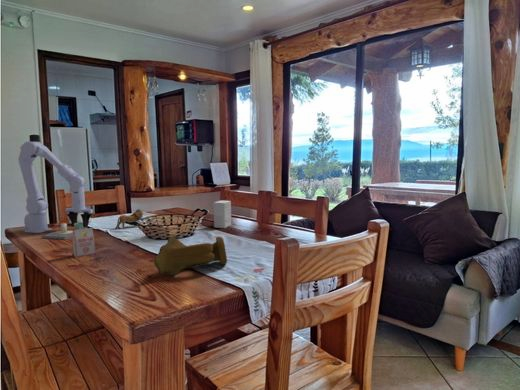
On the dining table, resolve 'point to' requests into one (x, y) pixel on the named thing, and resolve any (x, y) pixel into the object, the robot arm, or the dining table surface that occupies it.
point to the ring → (79, 226)
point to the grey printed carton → (83, 242)
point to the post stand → (60, 233)
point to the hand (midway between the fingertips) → (80, 226)
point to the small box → (222, 214)
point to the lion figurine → (130, 218)
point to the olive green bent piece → (188, 255)
